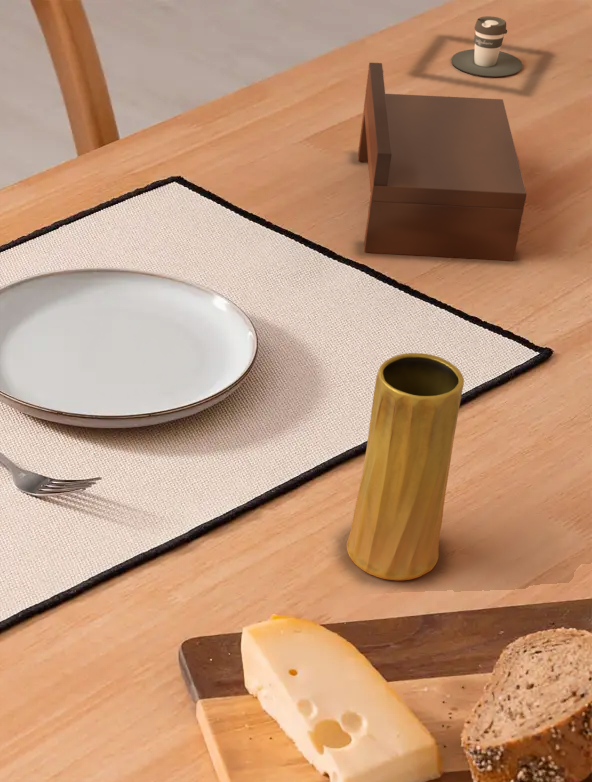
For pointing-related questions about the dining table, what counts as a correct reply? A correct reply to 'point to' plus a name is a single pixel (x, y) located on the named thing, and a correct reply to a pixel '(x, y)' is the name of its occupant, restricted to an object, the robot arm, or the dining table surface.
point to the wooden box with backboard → (439, 175)
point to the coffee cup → (487, 51)
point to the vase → (406, 467)
